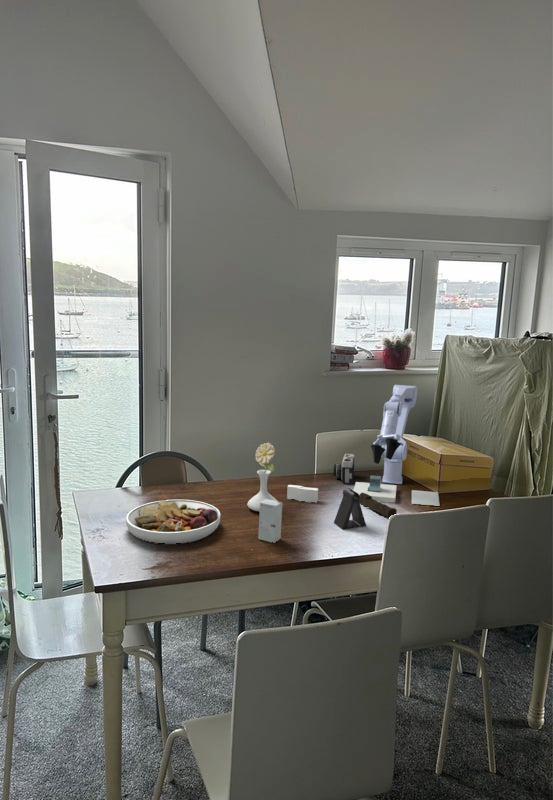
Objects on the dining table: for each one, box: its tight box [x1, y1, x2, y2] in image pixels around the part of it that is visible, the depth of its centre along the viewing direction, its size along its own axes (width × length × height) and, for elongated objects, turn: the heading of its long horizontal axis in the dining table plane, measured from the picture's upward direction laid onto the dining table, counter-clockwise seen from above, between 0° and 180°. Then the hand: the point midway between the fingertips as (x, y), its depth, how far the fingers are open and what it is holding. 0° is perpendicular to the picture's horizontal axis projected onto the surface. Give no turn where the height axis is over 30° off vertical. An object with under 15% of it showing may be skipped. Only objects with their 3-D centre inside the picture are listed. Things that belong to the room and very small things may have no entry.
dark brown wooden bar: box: [359, 493, 398, 519], centre depth 218 cm, size 19×4×5 cm, turn 28°
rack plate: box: [352, 481, 398, 503], centre depth 235 cm, size 16×16×2 cm
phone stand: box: [333, 487, 367, 530], centre depth 203 cm, size 9×6×12 cm, turn 112°
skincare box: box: [257, 499, 283, 544], centre depth 189 cm, size 6×4×12 cm
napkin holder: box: [286, 484, 319, 504], centre depth 227 cm, size 15×11×6 cm
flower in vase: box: [246, 442, 278, 512], centre depth 214 cm, size 13×11×25 cm
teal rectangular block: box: [369, 475, 382, 492], centre depth 234 cm, size 4×4×7 cm
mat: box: [411, 489, 440, 506], centre depth 231 cm, size 16×10×1 cm, turn 167°
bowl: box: [125, 499, 221, 545], centre depth 197 cm, size 30×30×8 cm
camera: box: [333, 453, 355, 485], centre depth 254 cm, size 14×9×10 cm, turn 162°
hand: (382, 460), depth 231 cm, fingers open, 7 cm apart
